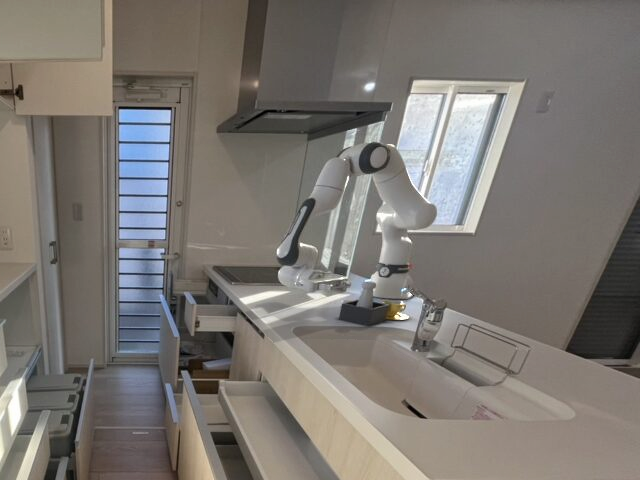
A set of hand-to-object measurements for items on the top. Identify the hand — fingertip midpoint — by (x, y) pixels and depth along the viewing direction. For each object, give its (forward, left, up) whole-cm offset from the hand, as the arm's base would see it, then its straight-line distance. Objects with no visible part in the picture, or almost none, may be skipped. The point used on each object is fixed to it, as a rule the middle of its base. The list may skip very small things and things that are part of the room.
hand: (340, 286), depth 154 cm
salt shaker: (+2, +11, -9) cm, 15 cm away
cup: (-11, +15, -10) cm, 21 cm away
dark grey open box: (+2, +11, -10) cm, 15 cm away
